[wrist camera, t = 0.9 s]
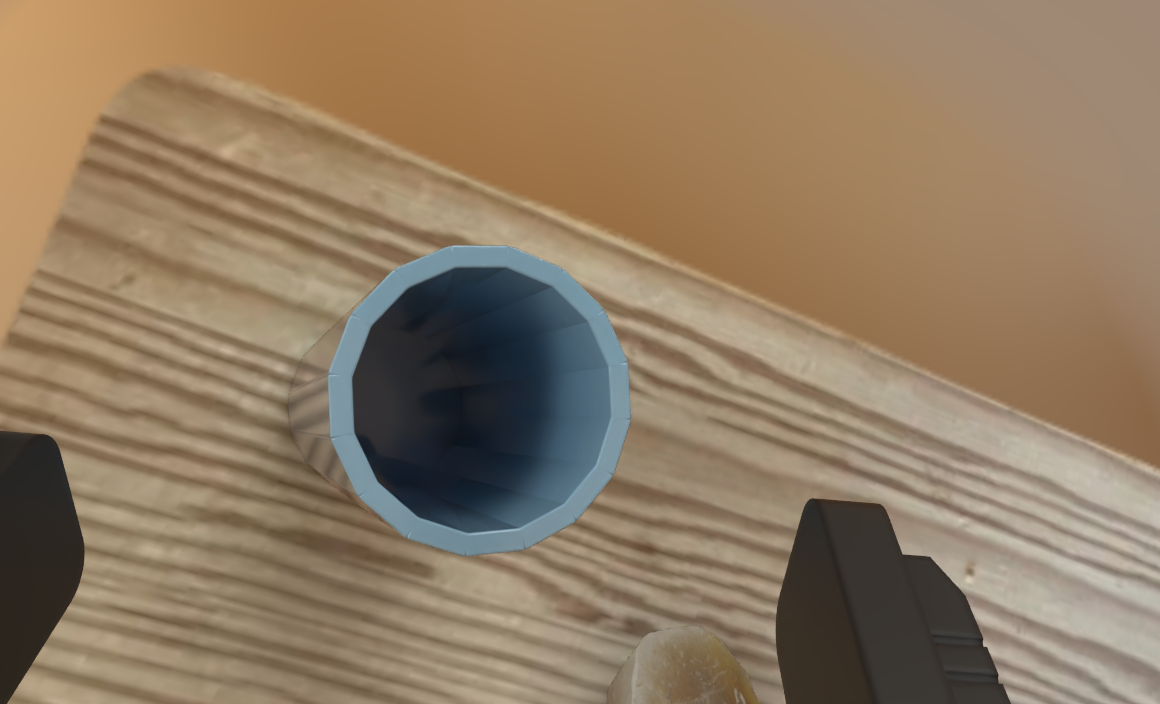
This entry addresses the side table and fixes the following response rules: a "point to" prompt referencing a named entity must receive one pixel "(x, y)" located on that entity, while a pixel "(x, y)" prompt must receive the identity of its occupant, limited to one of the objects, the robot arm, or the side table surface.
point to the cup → (467, 400)
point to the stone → (681, 671)
